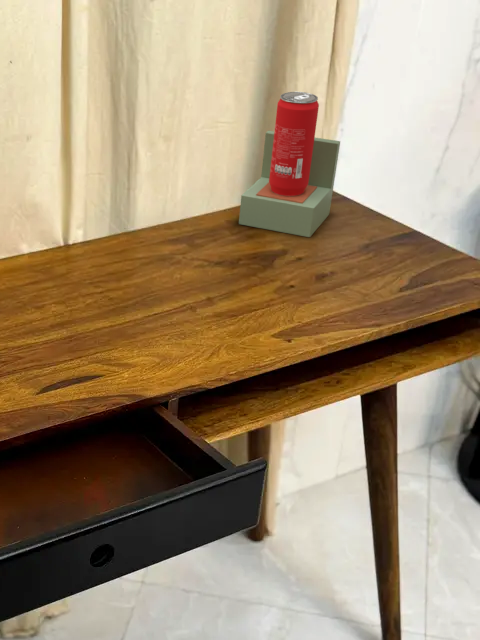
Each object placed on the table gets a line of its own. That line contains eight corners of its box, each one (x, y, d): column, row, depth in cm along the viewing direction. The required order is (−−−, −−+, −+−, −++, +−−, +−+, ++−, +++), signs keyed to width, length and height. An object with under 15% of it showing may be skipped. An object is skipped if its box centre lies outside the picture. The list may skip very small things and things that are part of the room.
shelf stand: (329, 214, 136) (340, 141, 130) (309, 237, 130) (320, 161, 124) (260, 202, 140) (268, 130, 134) (238, 224, 134) (245, 149, 128)
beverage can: (260, 189, 132) (269, 96, 125) (286, 180, 135) (297, 88, 127) (288, 200, 129) (300, 105, 122) (315, 191, 132) (328, 97, 124)
